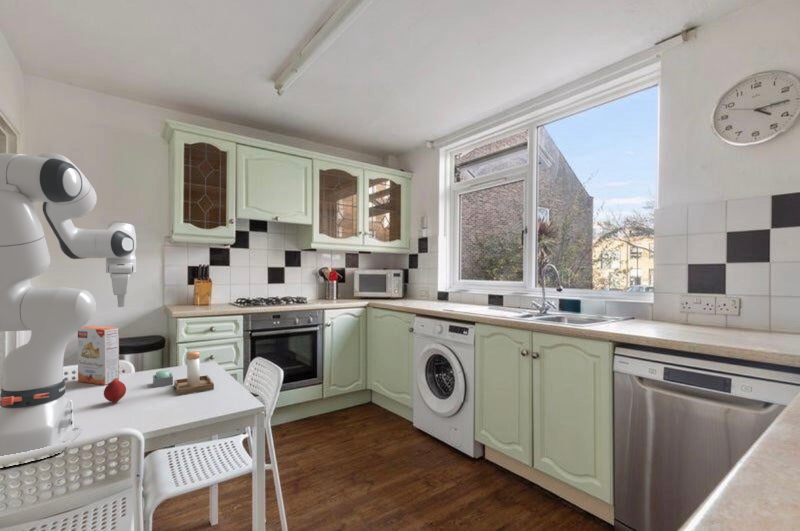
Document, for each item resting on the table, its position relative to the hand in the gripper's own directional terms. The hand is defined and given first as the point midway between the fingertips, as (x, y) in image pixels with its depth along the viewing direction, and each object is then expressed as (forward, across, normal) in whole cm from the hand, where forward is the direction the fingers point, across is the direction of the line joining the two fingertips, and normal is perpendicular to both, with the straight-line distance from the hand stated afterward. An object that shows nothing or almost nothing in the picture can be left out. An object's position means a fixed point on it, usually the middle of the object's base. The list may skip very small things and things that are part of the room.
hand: (121, 306), depth 137 cm
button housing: (+30, 0, +13) cm, 32 cm away
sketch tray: (+30, +11, +22) cm, 39 cm away
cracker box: (+30, -17, -7) cm, 35 cm away
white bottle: (+29, +11, +22) cm, 38 cm away
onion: (+30, +14, -1) cm, 33 cm away
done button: (+29, 0, +13) cm, 32 cm away
